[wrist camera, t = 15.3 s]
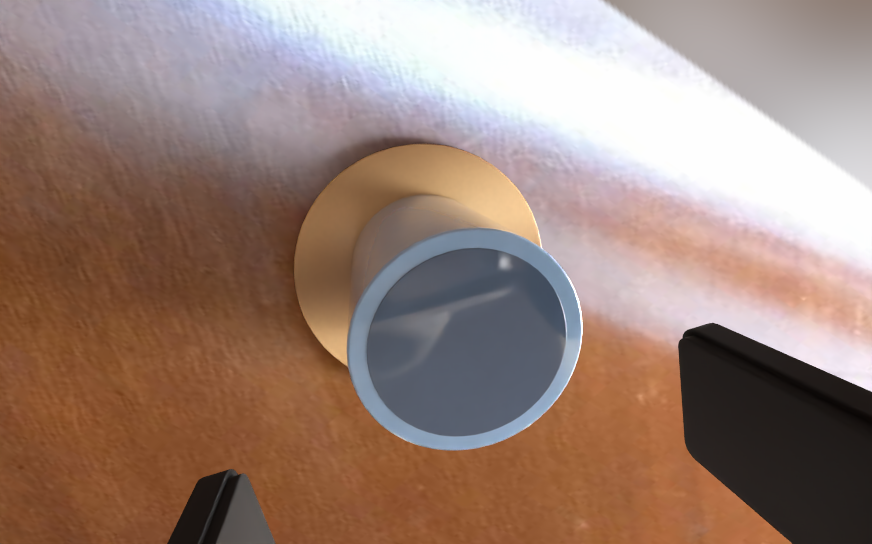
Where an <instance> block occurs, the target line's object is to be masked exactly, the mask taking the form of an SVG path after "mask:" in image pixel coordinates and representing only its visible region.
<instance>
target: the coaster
mask: <svg viewBox="0 0 872 544" xmlns="http://www.w3.org/2000/svg"><path fill="white" fill-rule="evenodd" d="M428 194H429V195H439V196H443V197H447V198H450V199H453V200H455V201H458V202H460V203H461V204H463V205H465V206H467V207H469V208H471V209H473V210H474V211H476V212H478V213H480V214H482V215H484V216H485V217H487V218H489V219H491V220H493V221H495V222H496V223H498V224H500V225H502V226H504V227H506V228H507V229H509V230H511V231H513V232H515V233H517V234H519V235H520V236H522V237H524V238H526V239H528V240H529V241H531V242H533V243H535V244H537V245H538V246H540V247H541V241H540V236H539V232H538V227H537V225H536V222H535V219H534V216H533V214H532V212H531V210H530V208H529V206H528V204H527V202H526V200H525V199H524V197H523V196H522V194H521V193H520V192H519V190H518V189H517V187H516V186H515V185H514V184H513V183H512V182H511V181H510V180H509V179H508V178H507V177H506V175H504V174H503V173H502V172H501V171H499V170H498V169H497V168H496V167H494V166H493V165H492V164H490V163H488V162H487V161H485V160H483V159H482V158H480V157H478V156H476V155H473V154H471V153H469V152H466V151H464V150H460V149H457V148H453V147H449V146H444V145H436V144H408V145H401V146H395V147H391V148H388V149H384V150H381V151H378V152H375V153H373V154H371V155H368V156H366V157H364V158H362V159H360V160H358V161H357V162H355V163H354V164H352V165H350V166H349V167H347V168H346V169H345V170H343V171H342V172H341V173H340V174H339V175H337V176H336V177H335V178H334V179H333V180H332V181H331V182H330V183H329V184H328V185H327V186H326V187H325V188H324V190H323V191H322V192H321V193H320V194H319V196H318V197H317V199H316V200H315V202H314V203H313V205H312V206H311V208H310V209H309V211H308V214H307V216H306V218H305V220H304V222H303V224H302V227H301V230H300V233H299V236H298V239H297V244H296V249H295V255H294V281H295V290H296V294H297V298H298V302H299V306H300V308H301V311H302V313H303V315H304V318H305V320H306V322H307V324H308V325H309V327H310V329H311V330H312V332H313V334H314V335H315V336H316V338H317V339H318V340H319V342H320V343H321V344H322V345H323V347H325V348H326V349H327V350H328V351H329V352H330V353H331V354H332V355H333V356H334V357H335V358H336V359H338V360H339V361H340V362H342V363H343V364H345V365H346V366H347V367H348V363H347V332H348V314H349V295H350V277H351V260H352V254H353V249H354V247H355V244H356V241H357V239H358V237H359V235H360V233H361V231H362V230H363V228H364V227H365V225H366V224H367V223H368V221H369V220H370V219H371V218H372V217H373V216H374V215H375V214H376V213H378V212H379V211H380V210H381V209H383V208H384V207H386V206H387V205H389V204H391V203H393V202H395V201H397V200H399V199H403V198H406V197H409V196H415V195H428Z"/></svg>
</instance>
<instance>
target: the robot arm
mask: <svg viewBox="0 0 872 544" xmlns="http://www.w3.org/2000/svg"><path fill="white" fill-rule="evenodd" d="M678 349H679V364H680V378H681V393H682V407H683V422H684V437H685V444H686V447H687V449H688V451H689V453H690V454H691V455H692V457H693V458H694V459H695V460H696V461H698V462H699V463H700V464H701V465H702V466H703V467H704V468H706V469H707V470H708V471H709V472H710V473H711V474H713V475H714V476H715V477H716V478H717V479H718V480H720V481H721V482H722V483H723V484H724V485H725V486H726V487H728V488H729V489H730V490H731V491H732V492H733V493H735V494H736V495H737V496H738V497H739V498H740V499H742V500H743V501H744V502H745V503H746V504H747V505H748V506H750V507H751V508H752V509H753V510H754V511H755V512H757V513H758V514H759V515H760V516H761V517H762V518H764V519H765V520H766V521H767V522H768V523H769V524H771V525H772V526H773V527H774V528H775V529H776V530H777V531H779V532H780V533H781V534H782V535H783V536H784V537H786V538H787V539H788V540H789V541H790V542H791V543H793V544H872V392H871V391H868V390H866V389H864V388H862V387H859V386H857V385H855V384H852V383H850V382H848V381H846V380H843V379H841V378H839V377H837V376H834V375H832V374H830V373H827V372H825V371H823V370H821V369H818V368H816V367H814V366H812V365H809V364H807V363H805V362H802V361H800V360H798V359H796V358H793V357H791V356H789V355H787V354H784V353H782V352H780V351H777V350H775V349H773V348H771V347H768V346H766V345H764V344H762V343H759V342H757V341H755V340H752V339H750V338H748V337H746V336H743V335H741V334H739V333H737V332H734V331H732V330H730V329H727V328H725V327H723V326H721V325H718V324H715V323H709V324H705V325H702V326H699V327H696V328H692V329H689V330H687V331H685V332H684V334H683V339H681V340H680V341H679V345H678ZM167 544H275V541H274V539H273V537H272V534H271V532H270V529H269V527H268V524H267V522H266V520H265V517H264V515H263V512H262V510H261V507H260V505H259V503H258V500H257V498H256V495H255V493H254V490H253V488H252V486H251V483H250V481H249V479H248V477H247V475H246V474H240V475H238V474H237V472H236V471H235V470H233V469H229V470H226V471H223V472H220V473H216V474H213V475H210V476H206V477H203V478H201V479H199V481H198V482H197V484H196V486H195V488H194V490H193V492H192V494H191V496H190V498H189V500H188V502H187V504H186V506H185V508H184V510H183V513H182V515H181V517H180V519H179V521H178V523H177V525H176V527H175V529H174V531H173V533H172V535H171V537H170V539H169V541H168V543H167Z"/></svg>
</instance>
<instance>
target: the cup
mask: <svg viewBox="0 0 872 544" xmlns="http://www.w3.org/2000/svg"><path fill="white" fill-rule="evenodd" d="M581 341H582V315H581V310H580V305H579V301H578V298H577V295H576V292H575V289H574V287H573V285H572V283H571V281H570V279H569V277H568V275H567V274H566V273H565V271H564V270H563V268H562V267H561V266H560V264H559V263H558V262H557V261H556V260H555V259H554V258H553V257H552V256H551V255H550V254H549V253H547V252H546V251H545V250H544V249H542V248H541V247H540V246H538V245H537V244H535V243H533V242H531V241H529V240H528V239H526V238H524V237H522V236H520V235H519V234H517V233H515V232H513V231H511V230H509V229H507V228H506V227H504V226H502V225H500V224H498V223H496V222H495V221H493V220H491V219H489V218H487V217H485V216H484V215H482V214H480V213H478V212H476V211H474V210H473V209H471V208H469V207H467V206H465V205H463V204H461V203H460V202H458V201H455V200H453V199H450V198H447V197H443V196H439V195H429V194H428V195H415V196H409V197H406V198H403V199H399V200H397V201H395V202H393V203H391V204H389V205H387V206H386V207H384V208H383V209H381V210H380V211H379V212H378V213H376V214H375V215H374V216H373V217H372V218H371V219H370V220H369V221H368V223H367V224H366V225H365V227H364V228H363V230H362V231H361V233H360V235H359V237H358V239H357V241H356V244H355V247H354V249H353V254H352V260H351V277H350V295H349V314H348V332H347V363H348V369H349V373H350V377H351V381H352V383H353V386H354V388H355V391H356V393H357V395H358V397H359V399H360V400H361V402H362V404H363V405H364V407H365V408H366V409H367V410H368V412H369V413H370V414H371V415H372V417H373V418H375V419H376V420H377V421H378V422H379V423H380V424H381V425H382V426H383V427H384V428H386V429H387V430H389V431H390V432H392V433H393V434H394V435H396V436H398V437H400V438H402V439H404V440H406V441H408V442H411V443H414V444H416V445H419V446H423V447H428V448H432V449H440V450H467V449H474V448H479V447H484V446H488V445H491V444H494V443H497V442H499V441H502V440H505V439H507V438H509V437H511V436H513V435H515V434H517V433H519V432H520V431H522V430H523V429H525V428H526V427H528V426H530V425H531V424H532V423H533V422H535V421H536V420H537V419H538V418H540V417H541V416H542V415H543V414H544V413H545V412H546V411H547V410H548V409H549V408H550V407H551V406H552V405H553V403H554V402H555V401H556V400H557V398H558V397H559V396H560V394H561V393H562V391H563V390H564V388H565V387H566V385H567V384H568V381H569V379H570V377H571V375H572V373H573V371H574V368H575V366H576V363H577V360H578V357H579V352H580V347H581Z"/></svg>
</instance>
